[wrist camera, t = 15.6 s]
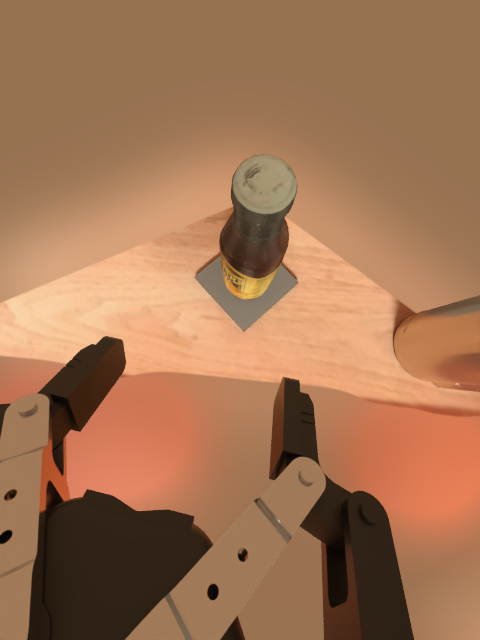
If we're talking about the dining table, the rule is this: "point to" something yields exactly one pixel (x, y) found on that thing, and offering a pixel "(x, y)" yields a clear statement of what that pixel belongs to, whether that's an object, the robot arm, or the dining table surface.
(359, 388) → the dining table surface
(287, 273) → the rubber mat
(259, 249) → the sauce bottle
